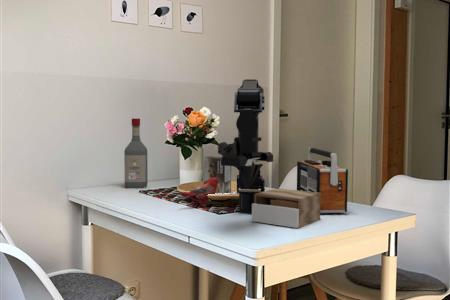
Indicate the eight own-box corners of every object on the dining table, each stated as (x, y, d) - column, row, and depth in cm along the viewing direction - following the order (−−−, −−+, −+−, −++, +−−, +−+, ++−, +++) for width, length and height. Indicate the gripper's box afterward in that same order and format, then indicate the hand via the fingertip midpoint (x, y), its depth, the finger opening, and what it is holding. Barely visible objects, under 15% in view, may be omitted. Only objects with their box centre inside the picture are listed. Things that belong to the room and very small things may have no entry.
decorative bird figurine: (221, 205, 173) (222, 176, 172) (180, 210, 162) (180, 180, 161) (216, 203, 175) (217, 176, 174) (175, 209, 164) (175, 179, 163)
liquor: (145, 188, 210) (144, 118, 208) (123, 188, 210) (123, 118, 207) (148, 185, 219) (147, 118, 217) (127, 185, 219) (127, 118, 217)
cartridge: (270, 215, 149) (270, 199, 148) (277, 213, 152) (277, 197, 152) (296, 219, 143) (297, 202, 143) (303, 217, 147) (304, 200, 147)
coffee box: (231, 199, 185) (232, 156, 184) (224, 202, 179) (225, 158, 178) (210, 197, 189) (210, 155, 187) (202, 200, 183) (202, 157, 182)
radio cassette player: (295, 200, 184) (296, 147, 183) (322, 200, 185) (323, 147, 184) (317, 216, 155) (318, 153, 154) (349, 215, 156) (350, 153, 155)
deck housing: (299, 228, 138) (299, 199, 138) (254, 221, 147) (254, 193, 146) (320, 219, 150) (320, 192, 149) (277, 213, 158) (277, 188, 158)
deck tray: (297, 227, 137) (297, 209, 137) (251, 220, 146) (251, 203, 145) (318, 219, 148) (318, 202, 148) (275, 213, 157) (275, 197, 157)
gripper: (242, 132, 148) (242, 183, 150) (204, 133, 133) (204, 190, 134) (274, 133, 142) (273, 186, 143) (238, 134, 127) (238, 194, 128)
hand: (247, 189), depth 137 cm, fingers closed
